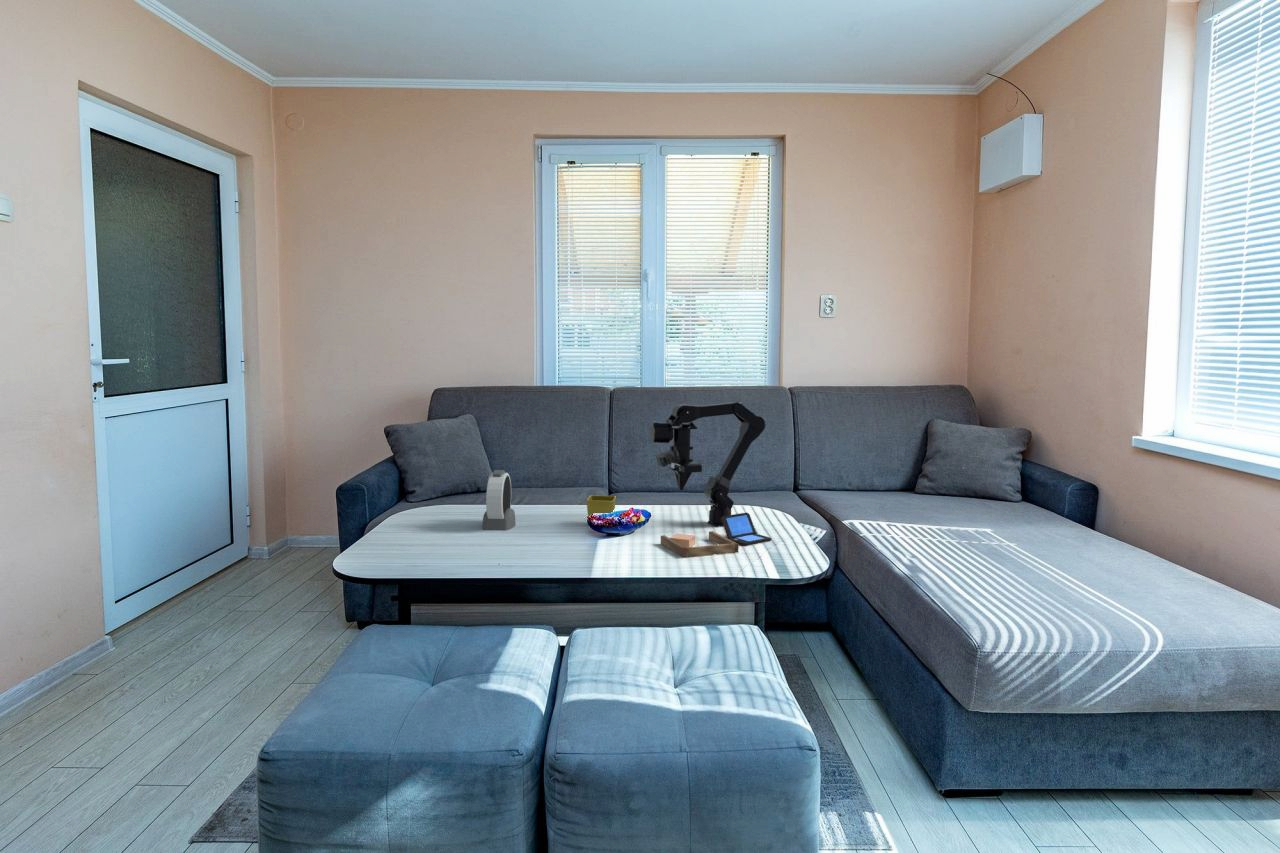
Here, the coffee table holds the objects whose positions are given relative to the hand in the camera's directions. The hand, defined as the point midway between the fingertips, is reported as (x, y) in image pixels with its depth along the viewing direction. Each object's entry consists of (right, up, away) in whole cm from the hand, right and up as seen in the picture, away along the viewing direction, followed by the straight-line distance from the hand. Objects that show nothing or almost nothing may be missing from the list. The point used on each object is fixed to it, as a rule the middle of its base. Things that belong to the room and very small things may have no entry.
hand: (680, 490), depth 257 cm
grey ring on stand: (-59, -12, -3) cm, 60 cm away
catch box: (+4, -15, -26) cm, 30 cm away
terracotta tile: (-1, -15, -24) cm, 28 cm away
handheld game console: (+19, -15, -16) cm, 29 cm away
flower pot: (-26, -12, +1) cm, 29 cm away
